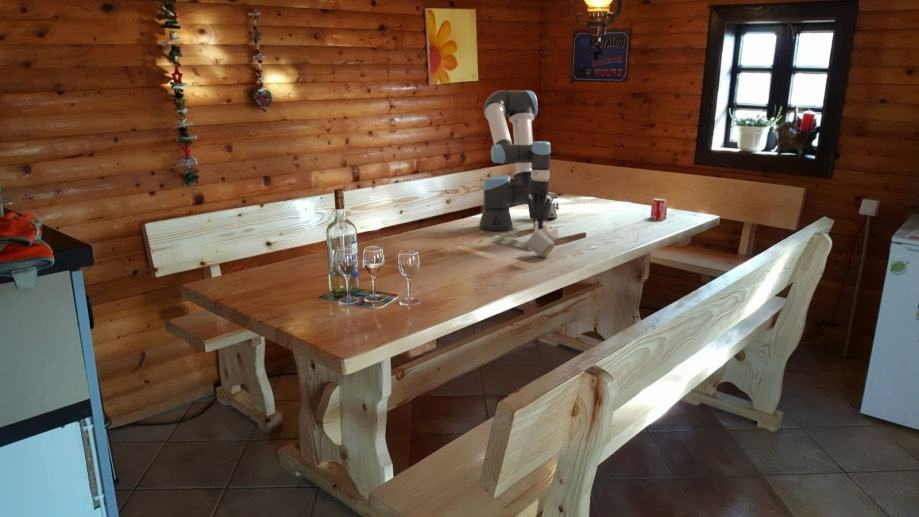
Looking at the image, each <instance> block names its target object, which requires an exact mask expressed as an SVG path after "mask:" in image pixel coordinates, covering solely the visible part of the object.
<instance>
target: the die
mask: <svg viewBox="0 0 919 517" xmlns="http://www.w3.org/2000/svg"><path fill="white" fill-rule="evenodd" d="M543 226H544V227H543V228H542V229H541V230H540V231H542V232H543V233H544V234H545V235H546V236H547V237H548V238H549V239H556V238H560V235H559V230H558V229H559V228H556V227H553V226H552V225H548V224H544V225H543Z"/></svg>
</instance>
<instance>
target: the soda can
mask: <svg viewBox="0 0 919 517" xmlns="http://www.w3.org/2000/svg"><path fill="white" fill-rule="evenodd" d="M650 207H651V208H650V209H651V210H650V219H651V220H654V221H665V220H667V211H668V202H667V199H666V198H659V197H656V198H655V197H654V198H653V200H652V202H651V206H650Z"/></svg>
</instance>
